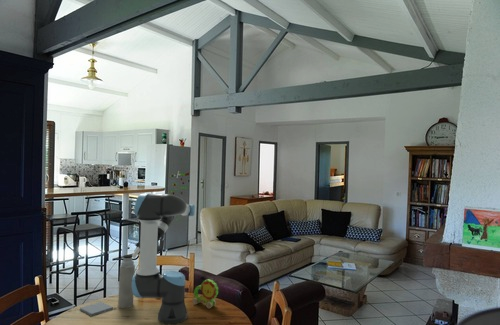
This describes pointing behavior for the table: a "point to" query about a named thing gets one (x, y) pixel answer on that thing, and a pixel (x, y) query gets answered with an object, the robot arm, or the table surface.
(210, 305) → the toy lion
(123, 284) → the thermos bottle
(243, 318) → the table surface
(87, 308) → the gray square plate
